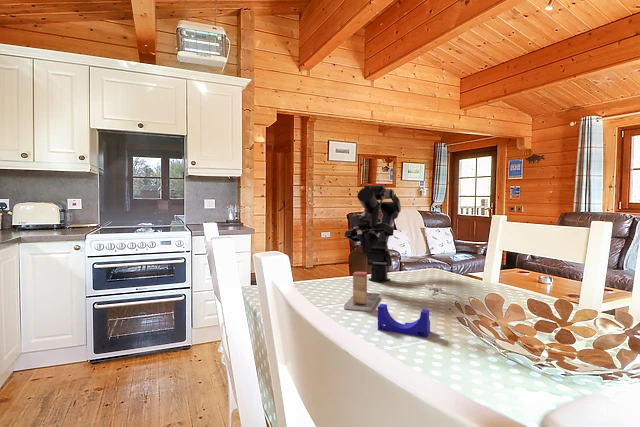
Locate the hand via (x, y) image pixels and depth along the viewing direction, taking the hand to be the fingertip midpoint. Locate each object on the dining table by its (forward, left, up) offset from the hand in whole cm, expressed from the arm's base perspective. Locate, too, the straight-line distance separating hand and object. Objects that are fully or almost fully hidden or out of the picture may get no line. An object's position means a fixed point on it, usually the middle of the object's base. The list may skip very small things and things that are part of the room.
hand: (364, 254), depth 127 cm
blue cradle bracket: (+21, +31, -13) cm, 40 cm away
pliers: (-18, +18, -14) cm, 29 cm away
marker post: (+14, +11, -12) cm, 21 cm away
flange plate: (+11, +9, -13) cm, 19 cm away
